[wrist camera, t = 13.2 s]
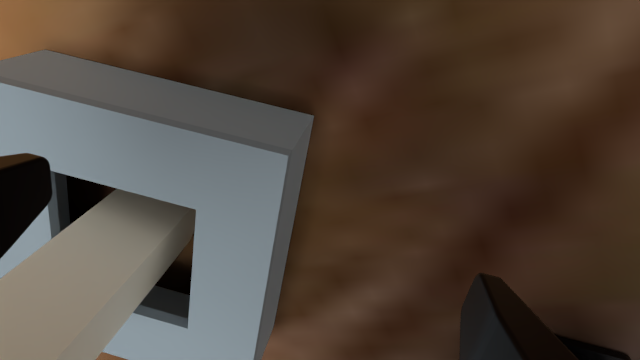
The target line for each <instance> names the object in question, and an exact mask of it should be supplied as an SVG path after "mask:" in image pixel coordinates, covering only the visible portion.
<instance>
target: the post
mask: <svg viewBox="0 0 640 360" xmlns="http://www.w3.org/2000/svg"><path fill="white" fill-rule="evenodd" d="M195 219H196V210H195V209H192V208H188V207H184V206H180V205H177V204H173V203H169V202H165V201H162V200H158V199H154V198H151V197H147V196H143V195H139V194H136V193H132V192H128V191H124V190H121V189H116V190H114V191H113V192H112V193H111V194H109V195H108V196H107V197H105V198H104V199H103V200H102V201H100V202H99V203H98V204H96V205H95V206H94V207H92V208H91V209H90V210H89V211H87V212H86V213H85V214H83V215H82V216H81V217H80V218H78V219H77V220H76V221H74V222H73V223H72V224H70V225H69V226H68V227H67V228H65V229H64V230H63V231H61V232H60V233H59V234H58V235H56V236H55V237H54V238H52V239H51V240H50V241H48V242H47V243H46V244H45V245H43V246H42V247H41V248H39V249H38V250H37V251H36V252H34V253H33V254H32V255H30V256H29V257H28V258H26V259H25V260H24V261H23V262H21V263H20V264H19V265H17V266H16V267H15V268H14V269H12V270H11V271H10V272H8V273H7V274H6V275H4V276H3V277H2V278H1V279H0V360H96V358H97V357H98V356H99V354H100V353H101V352H102V351H103V349H104V348H105V347H106V346H107V344H108V343H109V342H110V341H111V339H112V338H113V337H114V336H115V334H116V333H117V332H118V331H119V329H120V328H121V327H122V326H123V324H124V323H125V322H126V321H127V319H128V318H129V317H130V316H131V314H132V313H133V312H134V311H135V309H136V308H137V307H138V305H139V304H140V303H141V302H142V300H143V299H144V298H145V297H146V295H147V294H148V293H149V292H150V290H151V289H152V288H153V287H154V285H155V284H156V283H157V282H158V280H159V279H160V278H161V277H162V275H163V274H164V273H165V272H166V270H167V269H168V268H169V267H170V265H171V264H172V263H173V261H174V260H175V259H176V258H177V256H178V255H179V254H180V253H181V251H182V250H183V249H184V248H185V246H186V245H187V244H188V243H189V241H190V240H191V238H192V235H193V232H194V229H195Z"/></svg>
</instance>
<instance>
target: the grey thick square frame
mask: <svg viewBox="0 0 640 360" xmlns="http://www.w3.org/2000/svg"><path fill="white" fill-rule="evenodd" d="M313 119H314V116H313V115H309V114H305V113H301V112H297V111H293V110H289V109H285V108H281V107H277V106H273V105H268V104H264V103H260V102H256V101H252V100H248V99H244V98H240V97H236V96H232V95H228V94H224V93H220V92H216V91H211V90H207V89H203V88H199V87H195V86H191V85H187V84H183V83H179V82H175V81H171V80H167V79H163V78H159V77H154V76H150V75H146V74H142V73H138V72H134V71H130V70H126V69H122V68H118V67H114V66H110V65H106V64H102V63H98V62H93V61H89V60H85V59H81V58H77V57H73V56H69V55H65V54H61V53H57V52H53V51H49V50H41V51H37V52H33V53H29V54H25V55H21V56H17V57H13V58H9V59H5V60H1V61H0V156H6V155H14V154H21V153H30V154H34V155H38V156H42V157H45V158H46V159H47V160H48V161H49V163H50V170H51V179H52V189H53V194H52V198H51V201H50V202H49V204H48V205H47V206H46V207H45V209H44V210H43V211H42V212H41V213H40V214H39V216H38V217H37V218H36V219H35V220H34V221H33V222H32V224H31V225H30V226H29V227H28V228H27V229H26V231H25V232H24V233H23V234H22V235H21V236H20V238H19V239H18V240H17V241H16V242H15V243H14V244H13V246H12V247H11V248H10V249H9V250H8V251H7V252H6V253H5V255H4V256H3V257H2V258H1V259H0V279H1V278H2V277H3V276H4V275H6V274H7V273H8V272H10V271H11V270H12V269H14V268H15V267H16V266H17V265H19V264H20V263H21V262H23V261H24V260H25V259H26V258H28V257H29V256H30V255H32V254H33V253H34V252H36V251H37V250H38V249H39V248H41V247H42V246H43V245H45V244H46V243H47V242H48V241H50V240H51V239H52V238H54V237H55V236H56V235H58V234H59V233H60V232H61V231H63V230H64V229H65V228H67V227H68V226H69V225H70V215H69V203H68V191H67V179H66V175H69V176H72V177H76V178H80V179H84V180H87V181H91V182H95V183H98V184H102V185H106V186H110V187H113V188H117V189H121V190H124V191H128V192H132V193H136V194H139V195H143V196H147V197H151V198H154V199H158V200H162V201H165V202H169V203H173V204H177V205H180V206H184V207H188V208H192V209H195V210H196V219H195V233H194V247H193V261H192V275H191V289H190V295H187V294H183V293H180V292H176V291H173V290H169V289H166V288H162V287H159V286H155V285H154V287H153V288H152V289H151V290H150V292H149V293H148V294H147V295H146V297H145V298H144V299H143V300H142V302H141V303H140V304H139V305H138V307H137V308H136V309H135V311H134V312H133V313H132V314H131V316H130V317H129V318H128V319H127V321H126V322H125V323H124V324H123V326H122V327H121V328H120V329H119V331H118V332H117V333H116V334H115V336H114V337H113V338H112V339H111V341H110V342H109V343H108V344H107V346H106V347H105V348H104V349H103V351H102V352H105V353H109V354H112V355H115V356H119V357H122V358H125V359H129V360H261V358H262V356H263V353H264V350H265V348H266V345H267V343H268V340H269V337H270V335H271V332H272V330H273V327H274V322H275V317H276V312H277V306H278V301H279V296H280V291H281V286H282V280H283V275H284V270H285V265H286V260H287V254H288V249H289V244H290V239H291V234H292V228H293V223H294V218H295V213H296V208H297V202H298V197H299V192H300V187H301V182H302V176H303V171H304V166H305V161H306V156H307V150H308V145H309V140H310V135H311V130H312V124H313Z"/></svg>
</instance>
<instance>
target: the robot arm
mask: <svg viewBox="0 0 640 360" xmlns="http://www.w3.org/2000/svg"><path fill="white" fill-rule="evenodd" d="M52 194H53V189H52V179H51V170H50V163H49V161H48V160H47V159H46V158H45V157H42V156H38V155H34V154H30V153H21V154H14V155H6V156H0V259H1V258H2V257H3V256H4V255H5V253H6V252H7V251H8V250H9V249H10V248H11V247H12V246H13V244H14V243H15V242H16V241H17V240H18V239H19V238H20V236H21V235H22V234H23V233H24V232H25V231H26V229H27V228H28V227H29V226H30V225H31V224H32V222H33V221H34V220H35V219H36V218H37V217H38V216H39V214H40V213H41V212H42V211H43V210H44V209H45V207H46V206H47V205H48V204H49V202H50V201H51V198H52ZM460 360H631V359H630V357H629V356H626V355H624V354H620V353H616V352H613V351H609V350H605V349H602V348H598V347H594V346H591V345H587V344H583V343H580V342H576V341H572V340H569V339H565V338H561V337H558V336H555V335H554V334H553V332H552V331H551V330H550V329H549V328H548V327H547V326H546V325H545V324H544V323H543V322H542V321H541V320H540V319H539V318H538V317H537V316H536V315H535V314H534V313H533V312H532V311H531V309H530V308H529V307H528V306H527V305H526V304H525V303H524V302H523V301H522V300H521V299H520V298H519V297H518V296H517V295H516V294H515V293H514V292H513V291H512V290H511V289H510V287H509V286H508V285H507V284H506V283H505V282H504V281H503V280H502V279H501V278H499V277H496V276H492V275H488V274H484V273H479V274H477V275H476V277H475V278H474V281H473V283H472V285H471V287H470V290H469V292H468V294H467V296H466V299H465V301H464V303H463V306H462V310H461V322H460Z"/></svg>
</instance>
